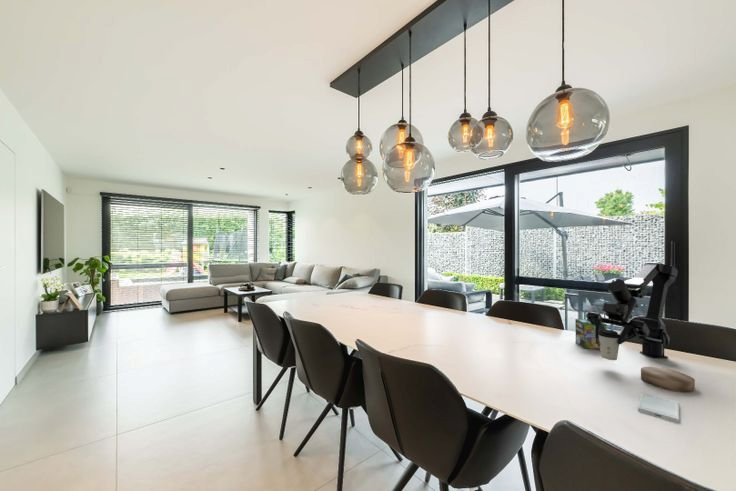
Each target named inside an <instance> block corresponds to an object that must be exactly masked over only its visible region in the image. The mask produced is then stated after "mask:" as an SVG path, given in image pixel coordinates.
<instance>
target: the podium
mask: <svg viewBox="0 0 736 491" xmlns="http://www.w3.org/2000/svg"><path fill="white" fill-rule="evenodd" d="M640 380H642V381H643V382H644V383H647V385H651V386H654V387H657V388H659V389H662V390H666V391H671V392H677V393H692V392H694V391H695V390H696V388H695V385H696V384H695V382H696V380H695V378H693V377H692V376H690V375H688V374H686V373H684V372H681V371H677V370H674V369H669V368H665V367H658V366H642V367H641V368H640Z"/></svg>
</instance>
